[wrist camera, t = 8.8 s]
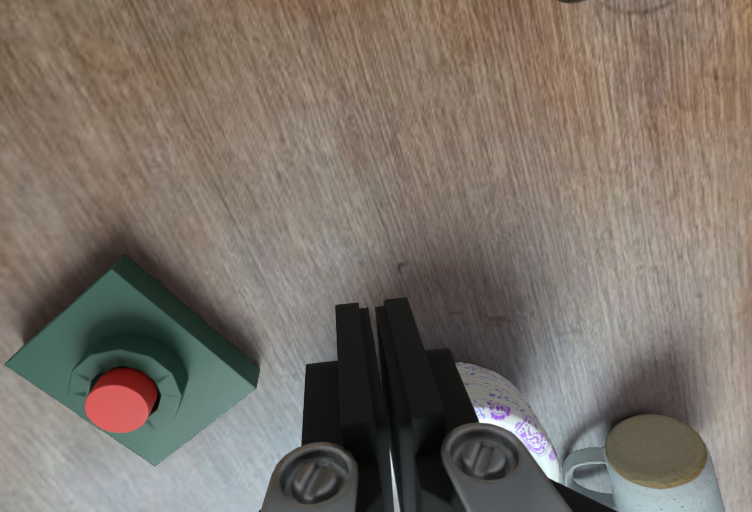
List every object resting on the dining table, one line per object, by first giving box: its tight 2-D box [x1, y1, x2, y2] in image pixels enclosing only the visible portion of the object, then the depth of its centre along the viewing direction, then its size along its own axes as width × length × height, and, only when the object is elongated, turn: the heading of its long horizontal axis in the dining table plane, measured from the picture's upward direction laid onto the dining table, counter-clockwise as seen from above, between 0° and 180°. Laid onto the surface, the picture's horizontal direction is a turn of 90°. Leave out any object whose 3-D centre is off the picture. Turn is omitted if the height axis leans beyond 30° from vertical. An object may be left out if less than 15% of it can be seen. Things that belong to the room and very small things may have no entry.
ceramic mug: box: [563, 414, 725, 512], centre depth 39 cm, size 11×8×8 cm
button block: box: [5, 255, 260, 466], centre depth 32 cm, size 12×10×4 cm
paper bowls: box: [380, 362, 560, 512], centre depth 35 cm, size 15×15×8 cm
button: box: [85, 367, 157, 433], centre depth 30 cm, size 4×4×2 cm
